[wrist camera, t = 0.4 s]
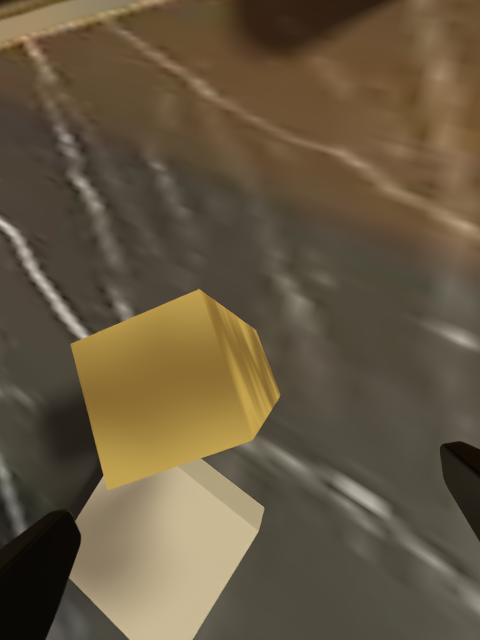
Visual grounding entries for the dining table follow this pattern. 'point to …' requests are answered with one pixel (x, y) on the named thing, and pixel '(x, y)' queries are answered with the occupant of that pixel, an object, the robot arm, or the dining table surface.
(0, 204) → the dining table surface
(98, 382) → the pillar block
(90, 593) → the plinth
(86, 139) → the dining table surface
